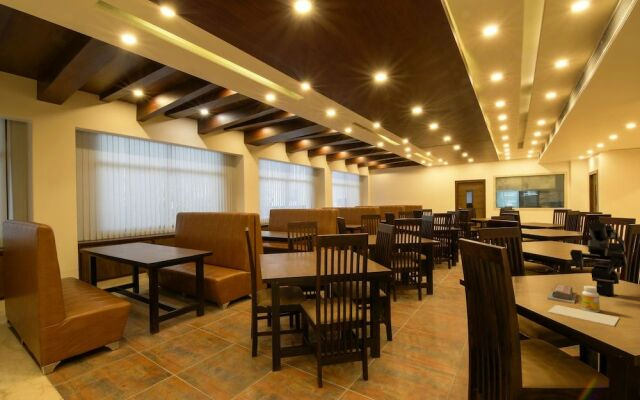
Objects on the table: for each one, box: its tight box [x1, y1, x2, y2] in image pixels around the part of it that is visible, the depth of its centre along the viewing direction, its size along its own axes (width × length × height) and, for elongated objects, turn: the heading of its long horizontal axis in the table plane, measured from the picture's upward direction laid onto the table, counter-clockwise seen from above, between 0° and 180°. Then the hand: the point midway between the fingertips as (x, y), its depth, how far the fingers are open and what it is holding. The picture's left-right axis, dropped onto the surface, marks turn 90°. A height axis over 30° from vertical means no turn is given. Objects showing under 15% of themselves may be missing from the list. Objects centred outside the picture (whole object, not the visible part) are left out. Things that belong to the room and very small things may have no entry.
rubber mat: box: [547, 304, 620, 327], centre depth 122 cm, size 12×20×1 cm, turn 39°
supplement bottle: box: [581, 285, 600, 313], centre depth 127 cm, size 5×5×10 cm
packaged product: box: [546, 283, 578, 304], centre depth 145 cm, size 18×5×10 cm
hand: (594, 271), depth 135 cm, fingers open, 9 cm apart
